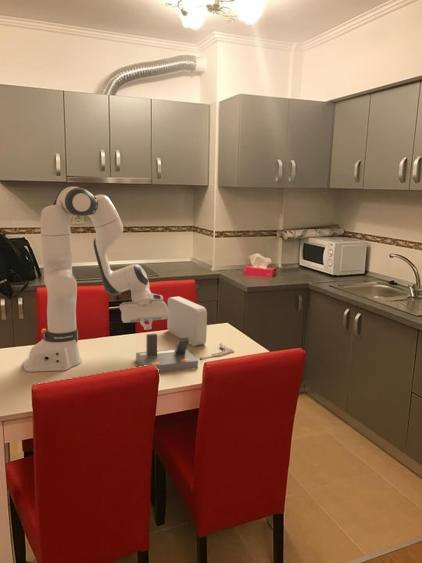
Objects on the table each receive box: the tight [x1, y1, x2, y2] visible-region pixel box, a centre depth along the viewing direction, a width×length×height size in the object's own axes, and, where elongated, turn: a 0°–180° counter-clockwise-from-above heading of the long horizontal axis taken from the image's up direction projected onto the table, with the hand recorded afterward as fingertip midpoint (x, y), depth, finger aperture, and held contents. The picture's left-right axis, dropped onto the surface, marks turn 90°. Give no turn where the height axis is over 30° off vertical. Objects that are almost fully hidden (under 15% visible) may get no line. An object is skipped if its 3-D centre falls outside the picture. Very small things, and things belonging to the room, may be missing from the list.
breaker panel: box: [135, 348, 199, 374], centre depth 191 cm, size 22×16×3 cm
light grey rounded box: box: [166, 296, 208, 347], centre depth 224 cm, size 29×8×18 cm, turn 33°
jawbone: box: [199, 343, 235, 361], centre depth 204 cm, size 9×20×2 cm, turn 153°
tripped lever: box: [145, 333, 158, 358], centre depth 189 cm, size 5×2×10 cm, turn 111°
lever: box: [174, 337, 189, 355], centre depth 191 cm, size 5×2×10 cm
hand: (148, 328), depth 195 cm, fingers closed
